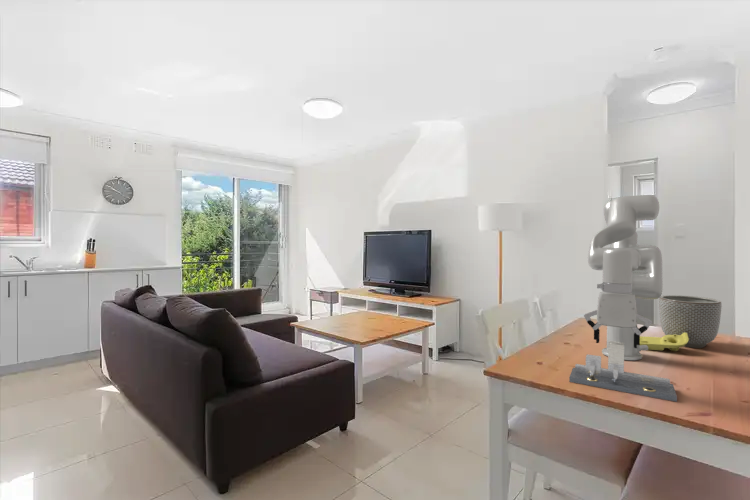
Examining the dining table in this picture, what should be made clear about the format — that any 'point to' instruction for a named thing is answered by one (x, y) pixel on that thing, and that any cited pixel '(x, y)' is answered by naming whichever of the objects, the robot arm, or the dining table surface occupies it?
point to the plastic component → (665, 342)
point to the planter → (690, 318)
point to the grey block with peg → (616, 358)
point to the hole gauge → (621, 380)
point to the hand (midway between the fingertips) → (616, 344)
